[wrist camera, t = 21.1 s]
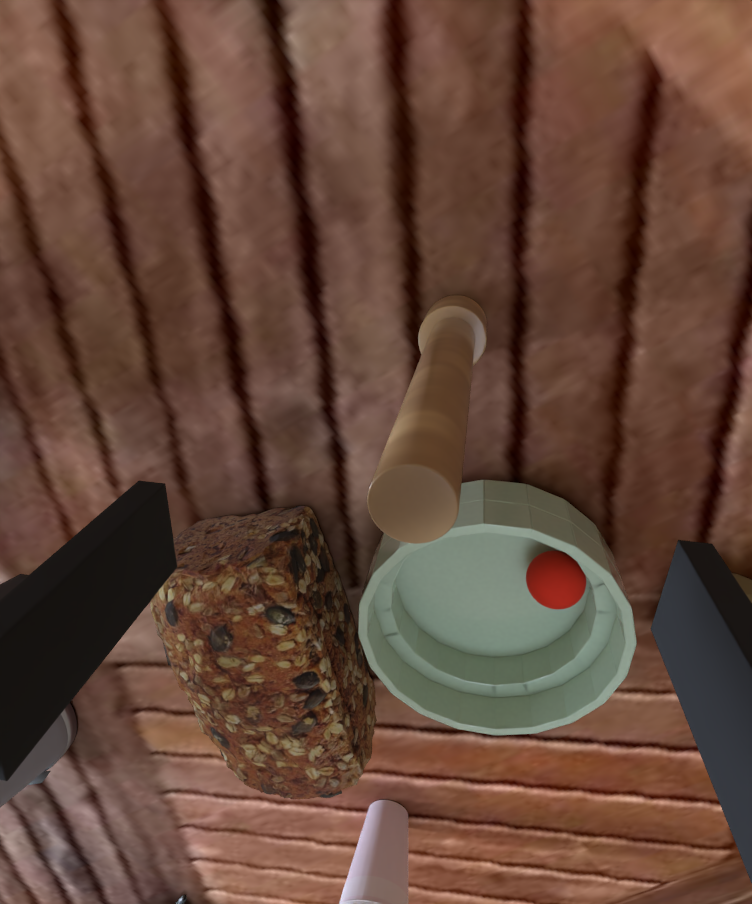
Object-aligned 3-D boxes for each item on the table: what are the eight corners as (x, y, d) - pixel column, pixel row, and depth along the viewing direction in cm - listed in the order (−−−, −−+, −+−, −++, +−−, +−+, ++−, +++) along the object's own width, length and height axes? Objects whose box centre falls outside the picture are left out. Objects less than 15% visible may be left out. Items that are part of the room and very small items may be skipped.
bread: (386, 692, 46) (362, 815, 37) (267, 698, 48) (218, 814, 39) (321, 493, 39) (272, 586, 30) (186, 512, 41) (104, 602, 32)
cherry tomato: (603, 559, 34) (553, 532, 37) (568, 582, 32) (518, 552, 35) (592, 605, 36) (544, 577, 38) (558, 630, 34) (510, 598, 36)
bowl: (371, 648, 44) (356, 712, 38) (378, 462, 37) (360, 509, 31) (588, 680, 41) (603, 754, 36) (638, 489, 34) (667, 544, 29)
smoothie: (409, 787, 50) (384, 987, 38) (432, 833, 52) (416, 1036, 40) (344, 792, 52) (300, 984, 39) (369, 836, 54) (334, 1031, 42)
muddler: (413, 340, 33) (324, 526, 15) (441, 283, 31) (377, 418, 14) (468, 367, 33) (442, 584, 15) (499, 312, 31) (510, 482, 14)
